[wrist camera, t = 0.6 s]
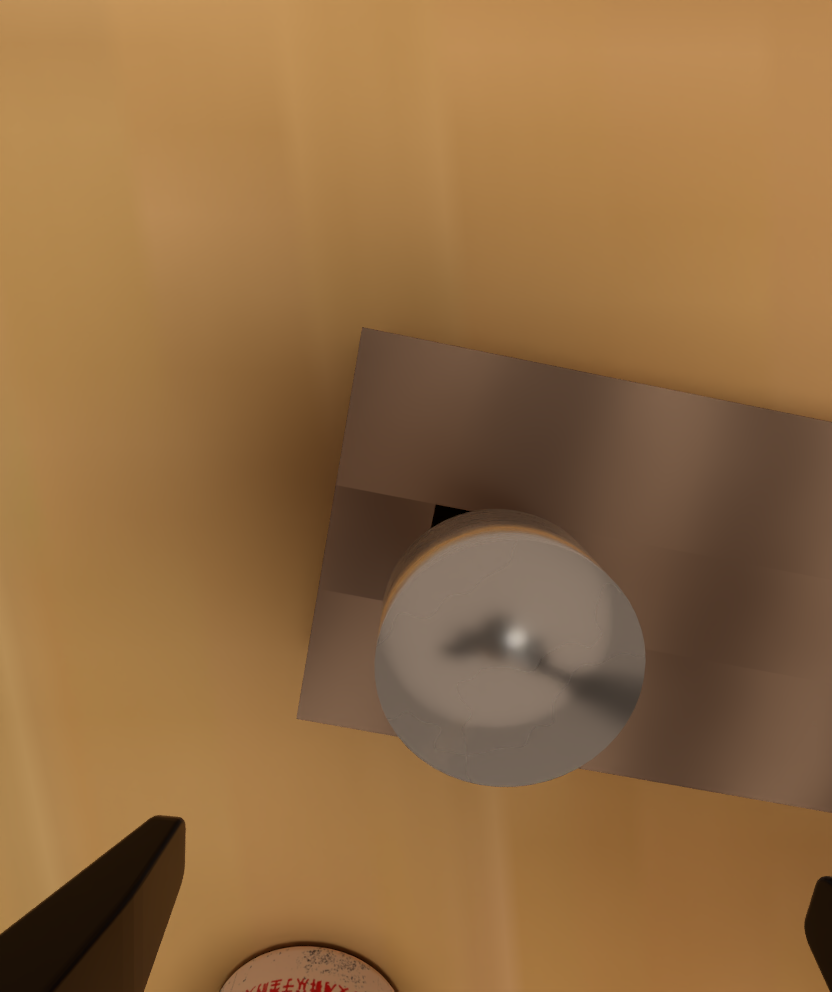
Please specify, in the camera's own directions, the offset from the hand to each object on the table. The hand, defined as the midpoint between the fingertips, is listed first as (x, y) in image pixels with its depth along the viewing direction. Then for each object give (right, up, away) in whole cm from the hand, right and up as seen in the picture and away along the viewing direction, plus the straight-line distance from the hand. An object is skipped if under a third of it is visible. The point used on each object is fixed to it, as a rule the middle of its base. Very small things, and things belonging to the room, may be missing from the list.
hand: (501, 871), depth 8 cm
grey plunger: (+1, +3, +9) cm, 10 cm away
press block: (+8, +3, +13) cm, 15 cm away
